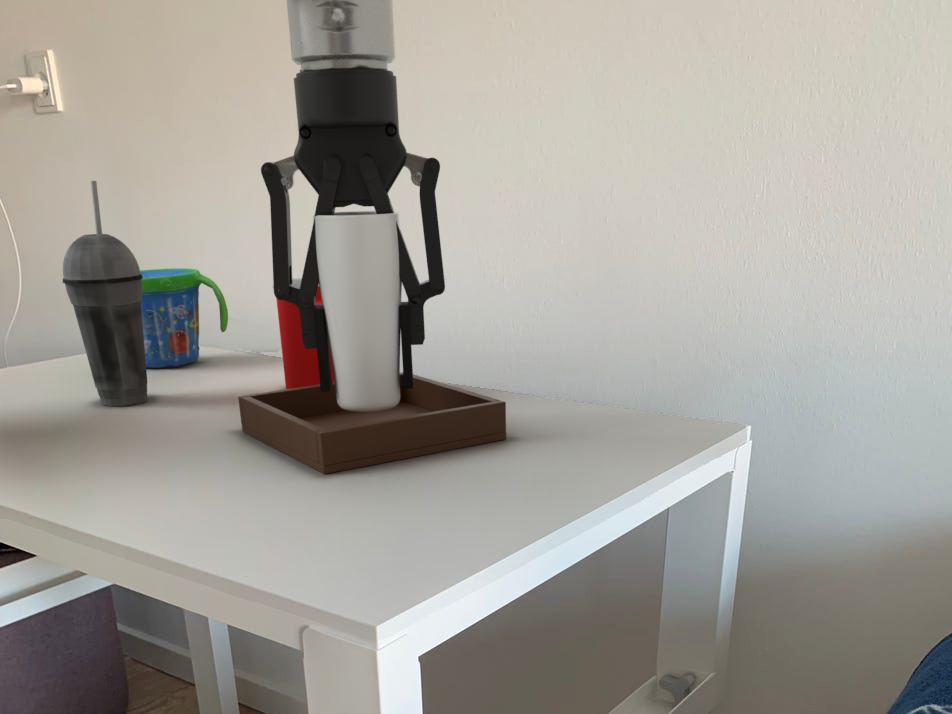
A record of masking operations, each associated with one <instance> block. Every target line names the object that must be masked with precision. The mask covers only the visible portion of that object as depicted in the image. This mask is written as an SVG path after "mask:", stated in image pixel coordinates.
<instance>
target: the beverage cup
mask: <svg viewBox="0 0 952 714" xmlns="http://www.w3.org/2000/svg"><path fill="white" fill-rule="evenodd" d="M97 183H98V182H97V181H96V180H90V187H91V197H92V207H93V214H94V215H93V216H94V223H95V233H91V234H84V235H81V236H80V237H77V238H76V239H75V240H74V241H72V243H71V244H70V245H69V247H68V248H67V250H66V252H65V255H64V258H63V263H62V277H63V278H62V283H63V284H64V286H65V290H66V294H67V297H68V299H69V301H70V304H71V305H72V306H73V310H74V313H75V317H76V321H77V325H78V327H79V328H78V329H79V332H80V335H81V340H82V343H83V346H84V351H85V354H86V357H87V360H88V364H89V369H90V371H91V375H92V379H93V383H94V385H95V389H96V392H97V394H98V397H99V401H100V404H101V405H103V406H106V407H107V406H108V407H124V406H133V405H138V404H142V403H145V402H147V401H148V400H149V397H148V372H147V367H146V358H145V346H144V333H143V320H142V308H141V300H142V280H141V279H143V276H142V274H141V273H140V270H141V269H140V266H139V263H138V260H137V259H136V257H135V254H134V253H133V252H132V251H131V249H130V248H129V247H128V246H127V244H125V242H123V241H121V240H120V239H118V238H117V237H115V236H113V235H111V234H108V233H103V230H102V229H103V228H102V220H101V210H100V201H99V191H98V184H97Z"/></svg>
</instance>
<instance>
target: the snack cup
mask: <svg viewBox="0 0 952 714" xmlns="http://www.w3.org/2000/svg"><path fill="white" fill-rule="evenodd" d="M140 273H141V274H142V276H143V279H141V280H142V300H141V308H142V320H143V333H144V346H145V358H146V368H149V369H160V368H161V369H163V368H170V367H171V368H172V367H180V366H184V365H188V364H192V363H194V362H198V361H199V358H200V346H199V345H200V342H199V340H200V311H199V310H200V307H199V306H200V304H199V303H200V302H199V298H200V297H199V296H200V290H199V289H200V286H201V284H203V285H204V286H206V287H208V288H210V289H212V290H213V293H214V295H215V298H216V300H217V302H218V306H219V322H220V323H219V324H220V325H219V326H220V327H219V328H220V332H221V333H225V332H226V330H227V328H228V322H229V312H228V311H229V309H228V307H227V306H228V305H227V302H226V299H225V296H224V295H223V294H224V293H223V292H222V290H221V288H220V287H219V286H218V285H217V283H216V282H215V281H214V280H212V279H211V278H210V277H208V276H205V275H203V274H202V273H201V272H200V271H199V270H198V269H196V268H185V267H184V268H181V267H180V268H175V267H174V268H173V267H172V268H154V269H140Z"/></svg>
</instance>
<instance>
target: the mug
mask: <svg viewBox="0 0 952 714" xmlns="http://www.w3.org/2000/svg"><path fill="white" fill-rule="evenodd" d="M301 280H302V277H292V284H293V285H296V286H299V287H300V285H301ZM272 288H273V289H274V283H273V282H272ZM275 298H276V297H275ZM315 302H316V305H322V299H321V293H320V287H319V285H318V289H317V294H316V299H315ZM276 308H277V316H278V317H277V319H278V325H279V328H278V329H279V337H280V345H281V356H282V365H283V373H284V383H285V389H291V388H298V387H305V386H312V385H319V384H320V378H319V368H318V357H317V348H316V349H305V347H304V345H303V342H302V332H301V322H300V312H299V309H298V307H297V306H296V305H295V304H293V303H290V302H287V301H284V300H279V299H277V298H276ZM329 353H330V347H329ZM330 364H331V375H332V383H333V382H335V379H334V372H333V366H332V360H331V353H330Z"/></svg>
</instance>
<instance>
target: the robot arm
mask: <svg viewBox="0 0 952 714" xmlns="http://www.w3.org/2000/svg"><path fill="white" fill-rule="evenodd" d="M393 7H394V6H393V0H286V8H287V19H288V21H287V22H288V32H289V42H290V53H291V60H292V62H293V63H295V65H297V66H300V69H299V72H297V73H296V74H295V77H294V78H293V86H294V99H295V108H296V119H297V129H298V130H297V131H298V139H297V143H296V146H295V149H294V152H293V155H291V156H288V157H285V158H283V159H280V160H277V161H267V162H264V163H263V164H262V165H261V167H260V173H261V177H262V179H263V183H264V184H265V187H266V189H267V192H268V195H269V201H270V202H269V205H270V230H271V233H270V234H271V255H272V258H271V259H272V280H273V282H272V284H273V283H274V288H273V294H274V297H275V298H277V299H279V300H284V301H287V302H290V303H293V304H295V305H296V306H297V307H298V309H299V312H300V322H301V332H302V342H303V345H304V347H305V349H316V348H317V357H318V368H319V378H320V389H321V392H330V390H331V387H332V375H331V364H330V353H329V341H328V335H327V329H326V323H325V317H324V310H323V305H316V302H315V299H316V294H317V289H318V285H319V281H318V277H319V271H318V262H317V251H316V234H315V218H314V223H313V222H312V227H311V233H310V237H309V243H308V246H307V252H306V257H305V261H304V268H303V272H302V276H301V278H302V280H301V285H300V287H299V286H296V285H293V284H292V278H293V256H292V255H293V254H292V228H291V227H292V226H291V223H292V222H291V200H290V193H289V190H291V189H293V187H294V185H295V175H296V172H298V171H299V172H300V173H301V174H302V176H303V177H304V178H305V179H306V181H307V182H308V183H309V185H310V186H311V187H312V188H313V190H314V191H315V193H316V194H317V195H318V197H317V202H316V207H315V212H314V215H315V216H317V215H334V212H336V208H345V207H348V206H351V205H357V206H360V207H373V208H374V211H376V213H377V214H387V213H394V212H395V210H394V207H393V205H392V202H391V198H390V196H389V193H390V190H391V189H392V188H393V185H394V183H395V182H396V180H397V178H398V177H399V176H400V174H401V172H402V171H403V168H404V167H405V168H406V169H408V171H409V172H410V180H411V182H412V184H413V185H415V186H417V187H419V204H420V214H421V222H422V231H423V241H424V248H425V257H426V266H427V274H428V279H427V280H424V281H421V282H420V281H419V278H418V275H417V272H416V270H415V267H414V264H413V261H412V258H411V255H410V253H409V250H408V247H407V244H406V242H405V239H404V236H403V233H402V230H401V228H400V229H399V227H398V224H397V222H396V226H397V236H398V250H399V275H400V278H401V281H402V287H403V289H404V291H405V295H406V297H407V301H401V305H400V306H399V309H400V326H401V333H400V344H401V359H402V372H403V378H404V389H413V374H414V372H413V371H414V369H413V353H412V350H413V349H412V346H421V345H424V342H425V339H426V333H425V330H426V329H425V316H424V315H425V311H424V310H425V309H424V306H425V303H426V302H427V301H428V300H429V299H431V298H433V297H436V296H440V295H442V294H443V293H444V292H445V290H446V282H445V275H444V274H445V272H444V264H443V254H442V247H441V246H442V245H441V235H440V227H439V217H438V216H439V215H438V208H437V199H436V188H437V184H438V180H439V176H440V175H439V174H440V170H441V164H440V161H439V160H438V159H437V158H435V157H424V156H421V155H418V154H414V153H410V152H407V148H406V146H405V144H404V143H403V141H402V138H401V135H400V123H399V121H400V120H399V104H398V83H397V76H396V75H394V72H393V71H392V70H389V69H388V68H389V67H388V64H391V63H393V61H394V60H395V59H396V51H395V50H396V47H395V46H396V45H395V29H394V27H395V25H394V9H393Z"/></svg>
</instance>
